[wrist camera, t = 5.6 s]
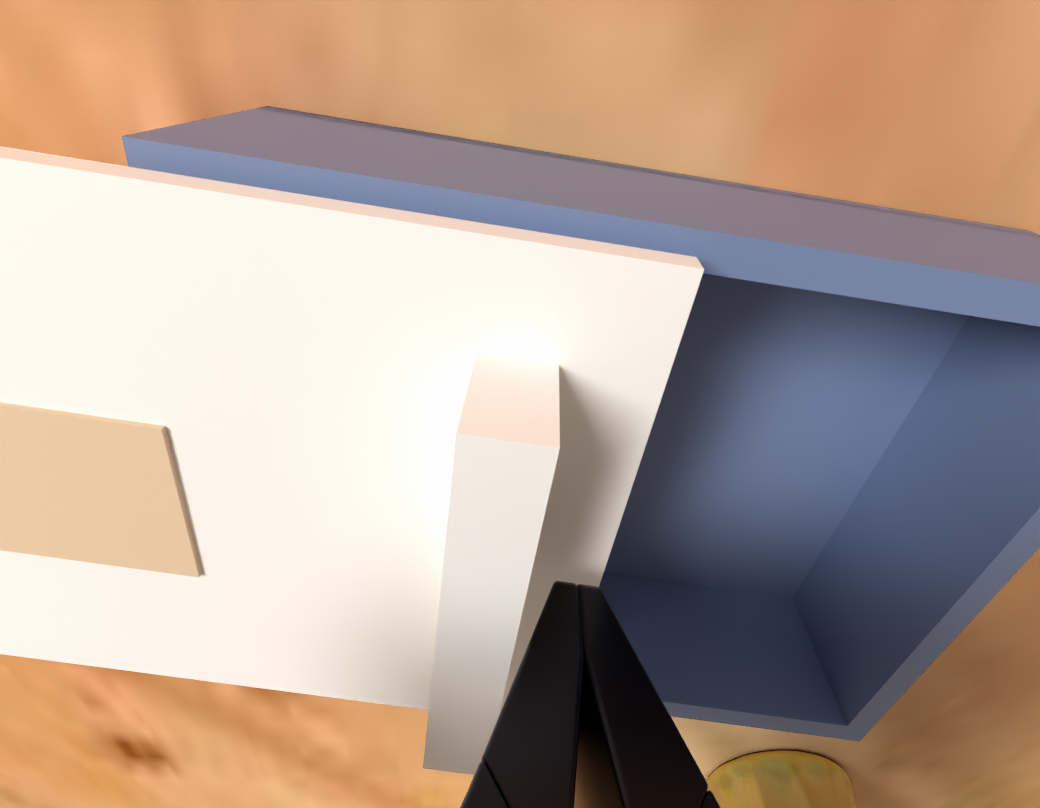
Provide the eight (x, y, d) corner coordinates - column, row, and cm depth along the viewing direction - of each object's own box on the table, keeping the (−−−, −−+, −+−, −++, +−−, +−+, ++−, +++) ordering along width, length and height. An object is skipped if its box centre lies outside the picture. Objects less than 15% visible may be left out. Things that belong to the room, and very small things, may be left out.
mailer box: (1028, 231, 12) (1252, 318, 8) (796, 597, 18) (859, 741, 14) (267, 106, 11) (122, 136, 8) (306, 528, 18) (238, 658, 14)
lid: (695, 256, 8) (749, 336, 6) (552, 705, 14) (551, 824, 12) (-480, 70, 7) (-912, 79, 5) (-85, 621, 13) (-206, 728, 11)
